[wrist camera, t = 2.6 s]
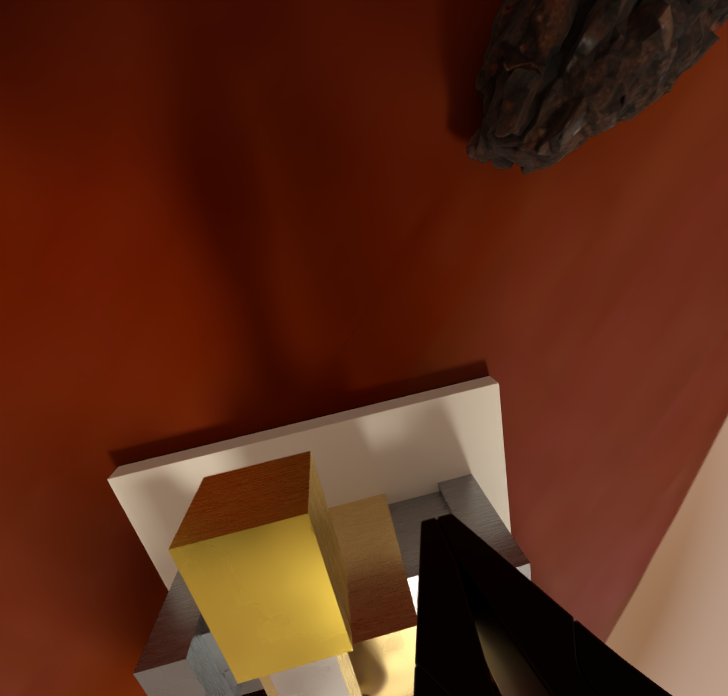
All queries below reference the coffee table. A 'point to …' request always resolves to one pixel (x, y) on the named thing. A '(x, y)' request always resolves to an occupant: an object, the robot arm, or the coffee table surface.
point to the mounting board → (336, 459)
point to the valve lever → (270, 576)
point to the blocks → (365, 590)
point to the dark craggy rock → (580, 71)
